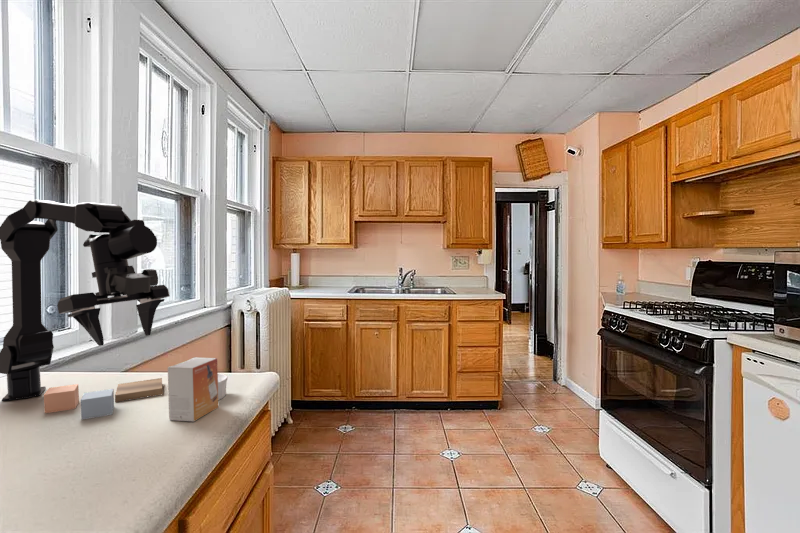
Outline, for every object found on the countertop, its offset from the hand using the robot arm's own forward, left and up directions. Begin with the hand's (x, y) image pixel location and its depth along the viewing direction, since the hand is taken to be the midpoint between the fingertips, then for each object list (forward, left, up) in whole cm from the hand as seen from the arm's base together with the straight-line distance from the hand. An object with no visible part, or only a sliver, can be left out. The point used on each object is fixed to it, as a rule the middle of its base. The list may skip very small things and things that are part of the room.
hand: (125, 340), depth 85 cm
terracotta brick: (-12, -12, -15) cm, 23 cm away
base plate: (-14, +2, -15) cm, 20 cm away
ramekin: (-2, +15, -15) cm, 21 cm away
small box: (+7, +12, -15) cm, 20 cm away
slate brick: (-4, -5, -15) cm, 17 cm away
